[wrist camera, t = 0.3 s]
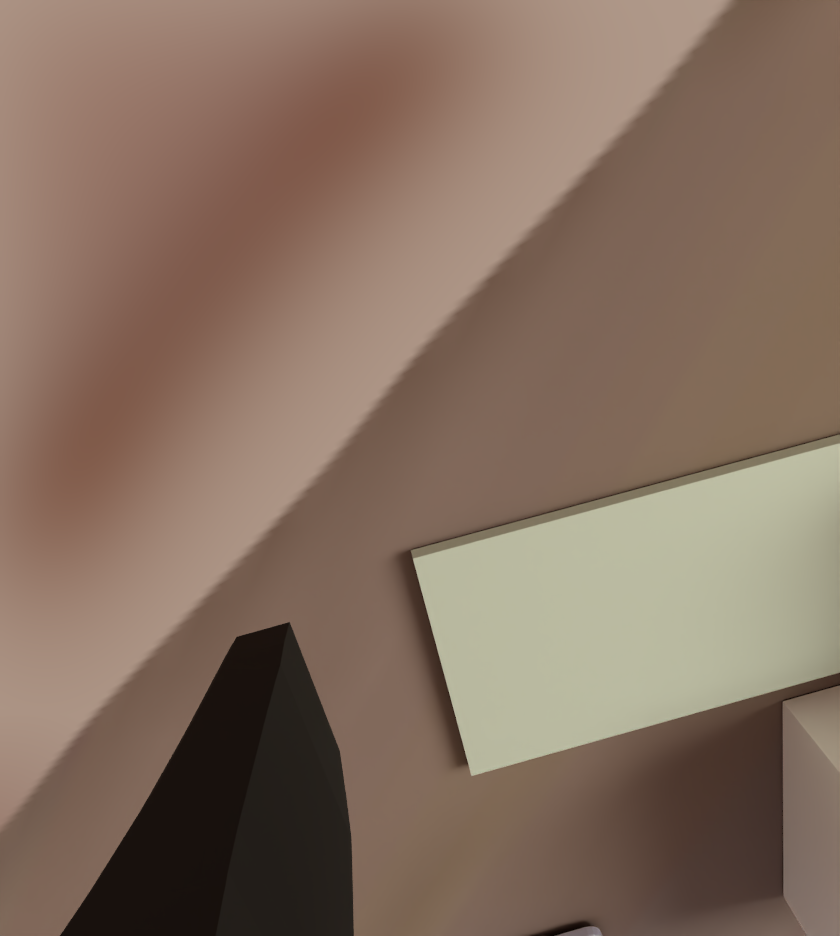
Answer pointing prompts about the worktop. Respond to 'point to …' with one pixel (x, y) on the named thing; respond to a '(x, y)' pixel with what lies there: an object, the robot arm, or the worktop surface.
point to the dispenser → (812, 810)
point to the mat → (639, 605)
